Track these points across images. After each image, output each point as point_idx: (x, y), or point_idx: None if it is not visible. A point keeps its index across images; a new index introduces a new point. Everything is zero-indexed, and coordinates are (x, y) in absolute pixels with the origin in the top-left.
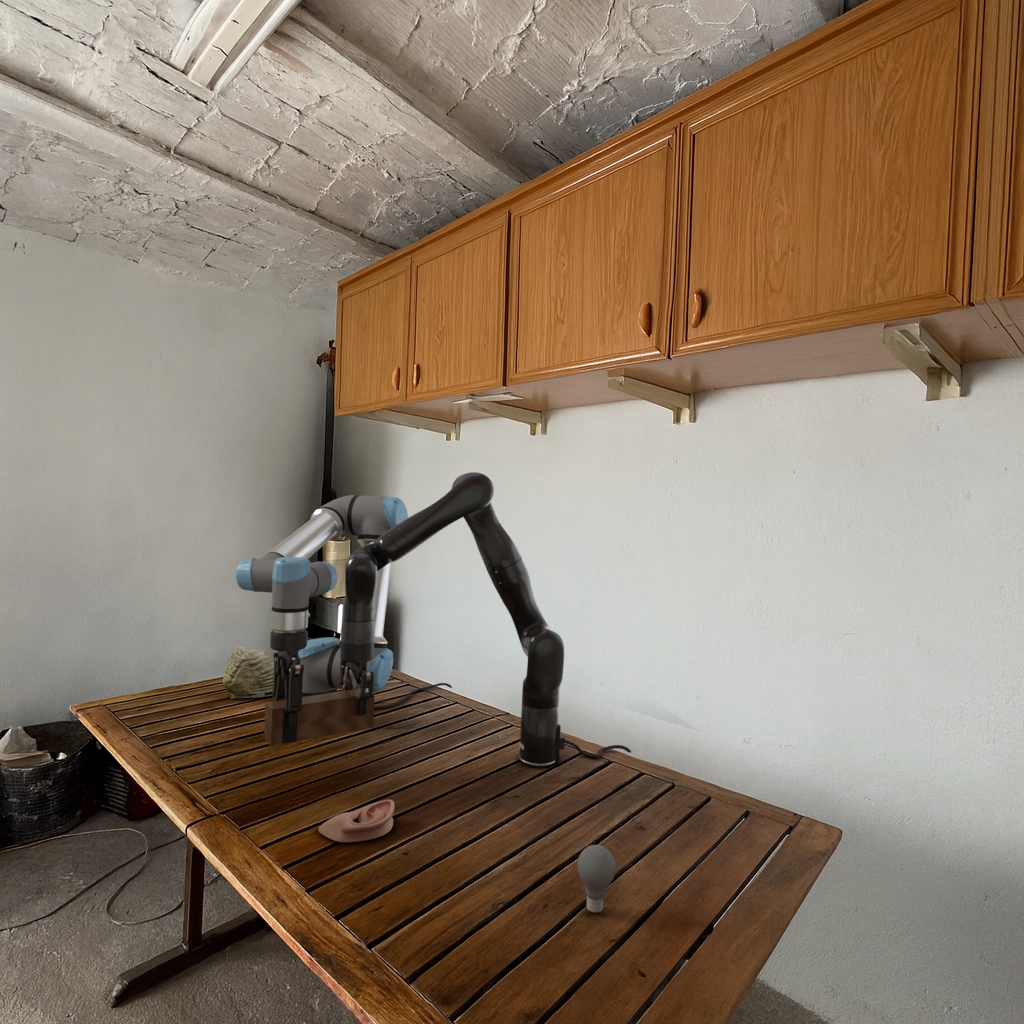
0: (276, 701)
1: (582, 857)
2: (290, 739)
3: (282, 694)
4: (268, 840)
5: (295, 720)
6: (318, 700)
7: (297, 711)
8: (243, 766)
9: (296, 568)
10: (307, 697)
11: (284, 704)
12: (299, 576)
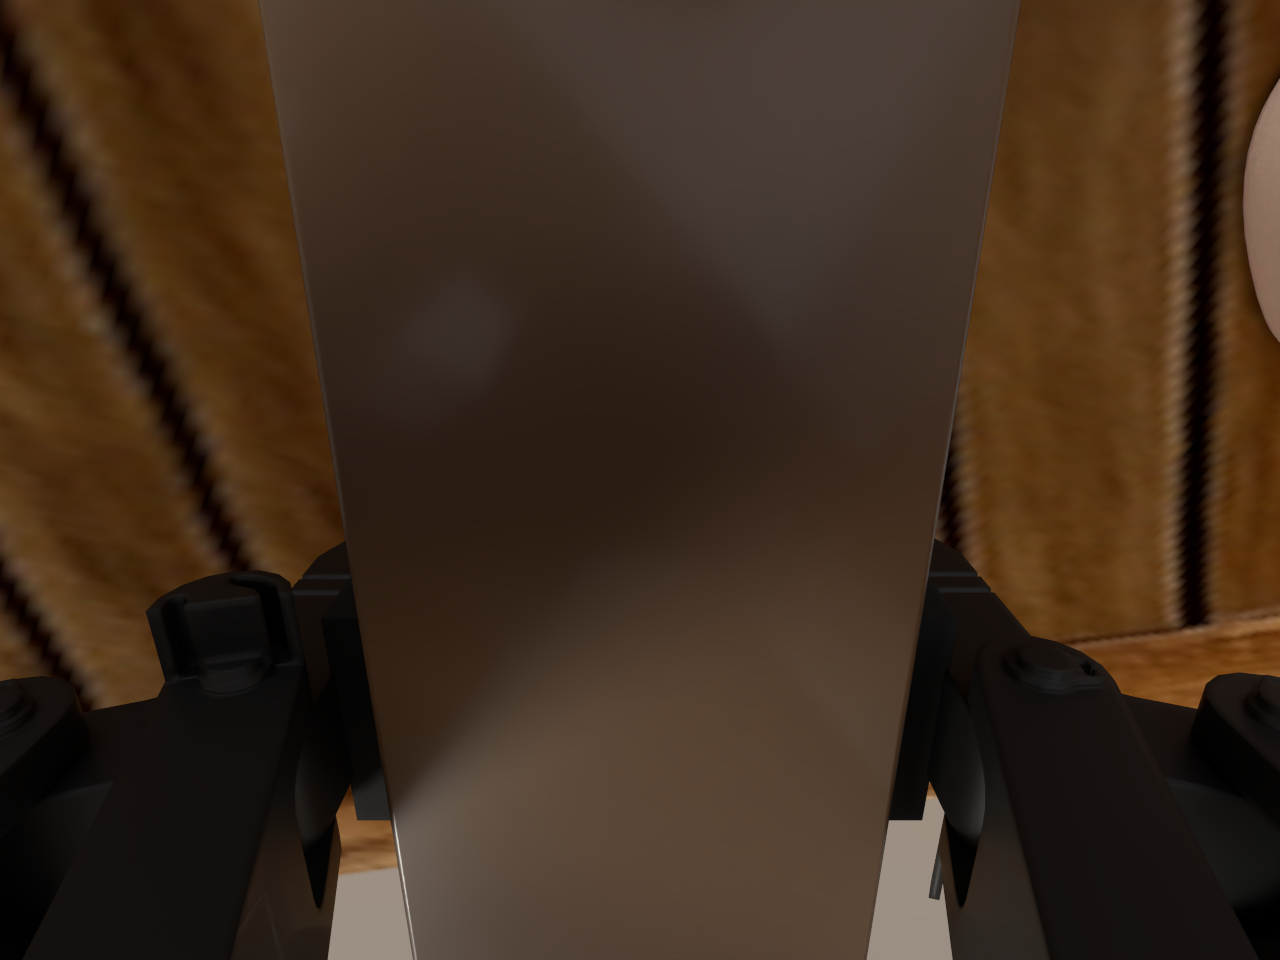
0: (449, 904)
1: None
2: None
3: (307, 893)
4: (1158, 581)
5: (989, 598)
6: (871, 28)
7: (953, 611)
8: (181, 482)
9: None
10: (417, 247)
11: (705, 836)
12: None
